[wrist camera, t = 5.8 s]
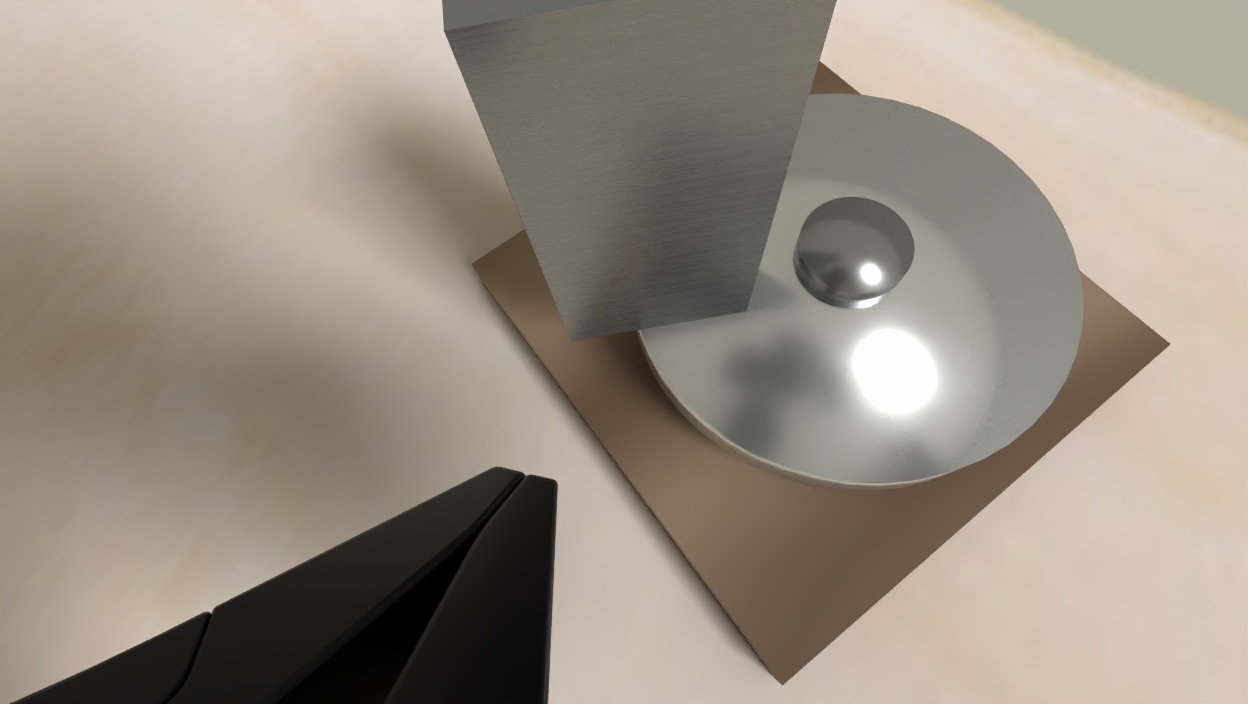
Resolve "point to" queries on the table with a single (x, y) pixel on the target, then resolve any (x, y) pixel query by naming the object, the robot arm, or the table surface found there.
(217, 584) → the table surface
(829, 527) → the walnut board
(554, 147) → the disc and block
